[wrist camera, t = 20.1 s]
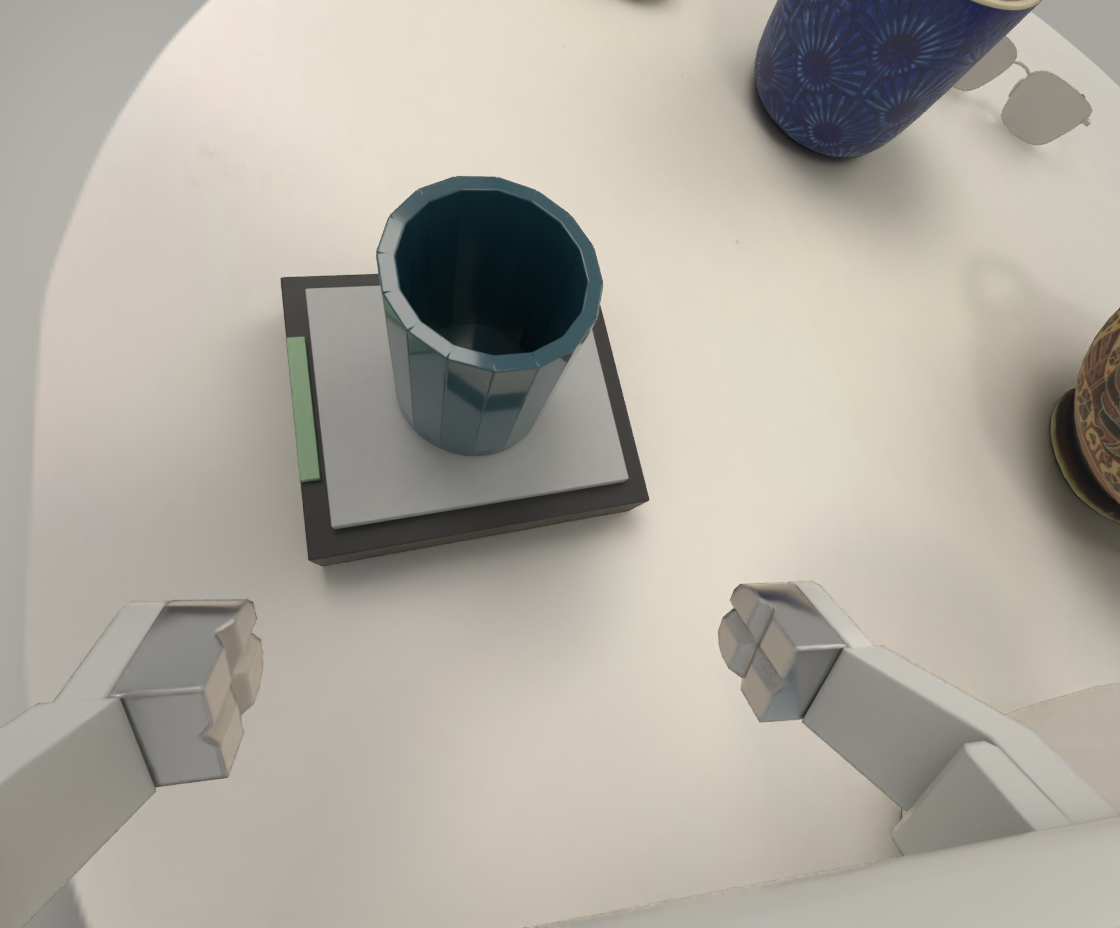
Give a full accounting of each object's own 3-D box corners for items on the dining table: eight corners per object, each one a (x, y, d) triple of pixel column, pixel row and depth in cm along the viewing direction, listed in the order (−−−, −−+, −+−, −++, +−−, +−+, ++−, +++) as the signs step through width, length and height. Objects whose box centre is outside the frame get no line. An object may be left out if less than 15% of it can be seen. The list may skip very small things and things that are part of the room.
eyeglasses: (911, 57, 42) (959, 1, 38) (929, 18, 45) (975, -37, 42) (1046, 159, 42) (1106, 113, 39) (1054, 113, 46) (1110, 67, 42)
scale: (321, 566, 21) (304, 559, 18) (294, 309, 24) (275, 267, 21) (629, 510, 25) (655, 497, 22) (577, 294, 28) (594, 258, 25)
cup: (406, 466, 20) (394, 381, 13) (386, 324, 22) (363, 173, 14) (557, 445, 22) (624, 360, 15) (529, 316, 23) (576, 177, 16)
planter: (898, 99, 40) (1060, -78, 30) (867, 210, 35) (1044, 47, 25) (760, 14, 39) (879, -202, 28) (711, 117, 34) (831, -93, 24)
